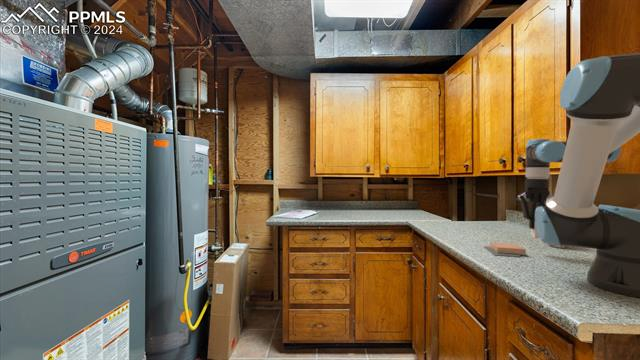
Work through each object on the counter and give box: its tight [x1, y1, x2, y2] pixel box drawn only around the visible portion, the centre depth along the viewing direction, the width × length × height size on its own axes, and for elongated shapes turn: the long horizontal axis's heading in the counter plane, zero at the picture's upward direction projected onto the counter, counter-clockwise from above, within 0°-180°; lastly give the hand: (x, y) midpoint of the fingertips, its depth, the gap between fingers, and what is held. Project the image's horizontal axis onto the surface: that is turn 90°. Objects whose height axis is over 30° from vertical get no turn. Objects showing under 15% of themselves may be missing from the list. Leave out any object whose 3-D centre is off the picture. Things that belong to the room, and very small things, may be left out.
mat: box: [483, 246, 522, 258], centre depth 112 cm, size 12×9×1 cm
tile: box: [489, 241, 527, 256], centre depth 112 cm, size 8×2×10 cm
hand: (535, 237), depth 109 cm, fingers closed
